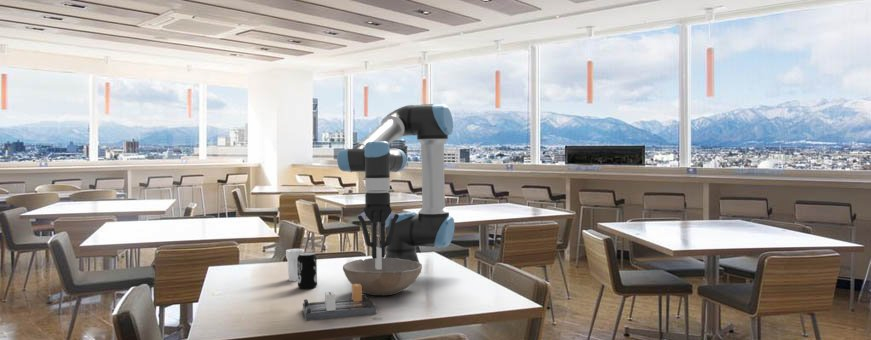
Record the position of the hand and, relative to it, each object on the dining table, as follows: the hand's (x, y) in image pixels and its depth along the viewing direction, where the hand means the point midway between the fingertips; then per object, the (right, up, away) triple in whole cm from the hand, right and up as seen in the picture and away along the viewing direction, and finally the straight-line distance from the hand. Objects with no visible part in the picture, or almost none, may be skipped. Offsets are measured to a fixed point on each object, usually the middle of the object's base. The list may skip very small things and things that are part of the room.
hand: (378, 268), depth 183 cm
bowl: (0, -11, +15) cm, 19 cm away
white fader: (-13, -10, -12) cm, 20 cm away
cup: (-35, -11, +39) cm, 53 cm away
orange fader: (-6, -9, -1) cm, 11 cm away
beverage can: (-27, -11, +26) cm, 39 cm away
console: (-11, -12, -7) cm, 17 cm away
